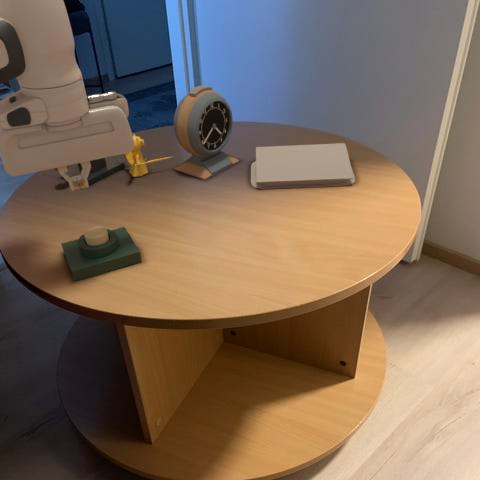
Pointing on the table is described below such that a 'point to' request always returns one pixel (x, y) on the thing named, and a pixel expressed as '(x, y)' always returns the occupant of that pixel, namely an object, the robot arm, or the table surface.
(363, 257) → the table surface
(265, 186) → the book
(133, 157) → the figurine
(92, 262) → the control block
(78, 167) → the switch bracket
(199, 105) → the alarm clock
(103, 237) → the button
